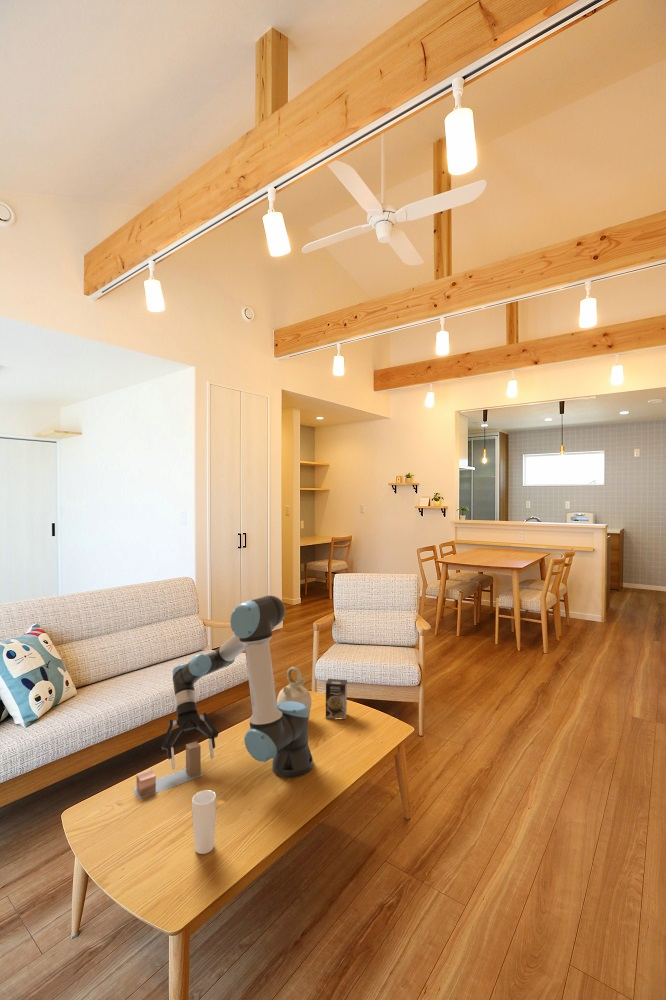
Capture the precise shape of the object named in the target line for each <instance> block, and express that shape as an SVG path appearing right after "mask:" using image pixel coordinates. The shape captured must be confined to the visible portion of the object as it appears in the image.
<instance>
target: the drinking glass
mask: <svg viewBox="0 0 666 1000" xmlns="http://www.w3.org/2000/svg"><path fill="white" fill-rule="evenodd" d="M191 801H192V803H191V815H192V825H193V835H194V836H193V837H194V849H195V850H194V851H195V852H196V853H197V854H199V855H207V854H208V853H210V852H211V851H212V850H213V849H214V847H215V833H216V832H215V829H216V822H217V821H216V820H217V794H216V793H215V791H213V790H209V789H205V790H200V791H198V792H196V793H195V794H194V795H193V796H192V798H191Z"/></svg>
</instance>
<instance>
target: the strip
mask: <svg viewBox="0 0 666 1000" xmlns="http://www.w3.org/2000/svg"><path fill="white" fill-rule="evenodd" d="M201 749H202V748H201V744H200V743H199V742H198V740H196V741H192V742H190V743H187V744H185V768H184V769H181V770H177V771H175V772H172V773H169V774H167V775H164V776H160V777H158V778H156V790H155V791H153V792H150V793H147V794H144V795H142V796H140V794H139V792H138V790H137V785H136V786H132V789H133V792H134V793H135V796H136V797H137V799H138V800H141V799H144V798H147V797H150V796H151V795H155V794H158V793H160V792H163V791H166V790H167V789H168V790H169V789H171V788H174V787H176V786H179V785H182V784H184V783H187V782H190V781H192V780H194V779H197V778H201V777H203V774H202V771H201V770H202V769H201V767H202V766H201V765H202V763H201V757H202V755H201V753H202V752H201Z"/></svg>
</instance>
